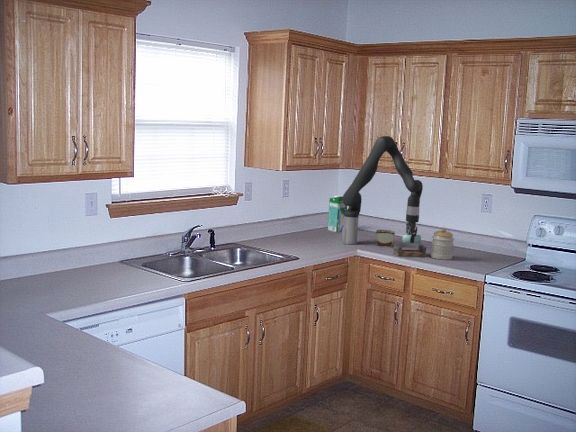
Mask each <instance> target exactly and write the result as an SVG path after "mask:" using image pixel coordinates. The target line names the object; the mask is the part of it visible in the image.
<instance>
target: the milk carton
mask: <svg viewBox="0 0 576 432" xmlns="http://www.w3.org/2000/svg"><path fill="white" fill-rule="evenodd" d="M328 200H329V205H328V218H327V219H328V220H327V231H330V232H334V233H342V228H343V225H344V212H345V211H346V210H347V209H348V206H346V205H344V203H343V195H342V196H341V195H334V197H329V199H328Z"/></svg>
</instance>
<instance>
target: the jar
mask: <svg viewBox="0 0 576 432" xmlns="http://www.w3.org/2000/svg"><path fill="white" fill-rule="evenodd" d="M453 236H454V234H453V233H451V232H450V231H448V230H447V229H446V228H444V227H443V228H442V229H441V230H437V231H435V232H434V233H433V236H431V239H432V241H431V242H430V243H431V247H430V248H431V249H430V257H431V258H433V259H436V260H441V261H442V260H443V261H445V260H446V261H447V260H448V261H449V260H452V259H453V256H454V241H455V238H454V237H453Z"/></svg>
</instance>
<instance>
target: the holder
mask: <svg viewBox="0 0 576 432" xmlns="http://www.w3.org/2000/svg"><path fill="white" fill-rule="evenodd" d="M392 254H394V255H395V256H397V257H398V258H399V257H405V258H407V257H409V258H410V257H411V258H426V257H427V247H426V246H424V245H422V244H417V249H412V248H411V249H409V248H408V249H407V248H404V249H403V247H402V246H401V245H399V244H398V243H397V244H396V243H394V244H393V253H392Z"/></svg>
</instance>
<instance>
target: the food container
mask: <svg viewBox="0 0 576 432" xmlns="http://www.w3.org/2000/svg"><path fill="white" fill-rule="evenodd" d="M374 234H375V235H376V236H375V237H376V246H377V247H379V246H384V248H392V247H393V245H394V244H393V242H394V237H395V236H396V233H395V231H394V230H391V229H376V231H375V233H374ZM385 246H386V247H385Z"/></svg>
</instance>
